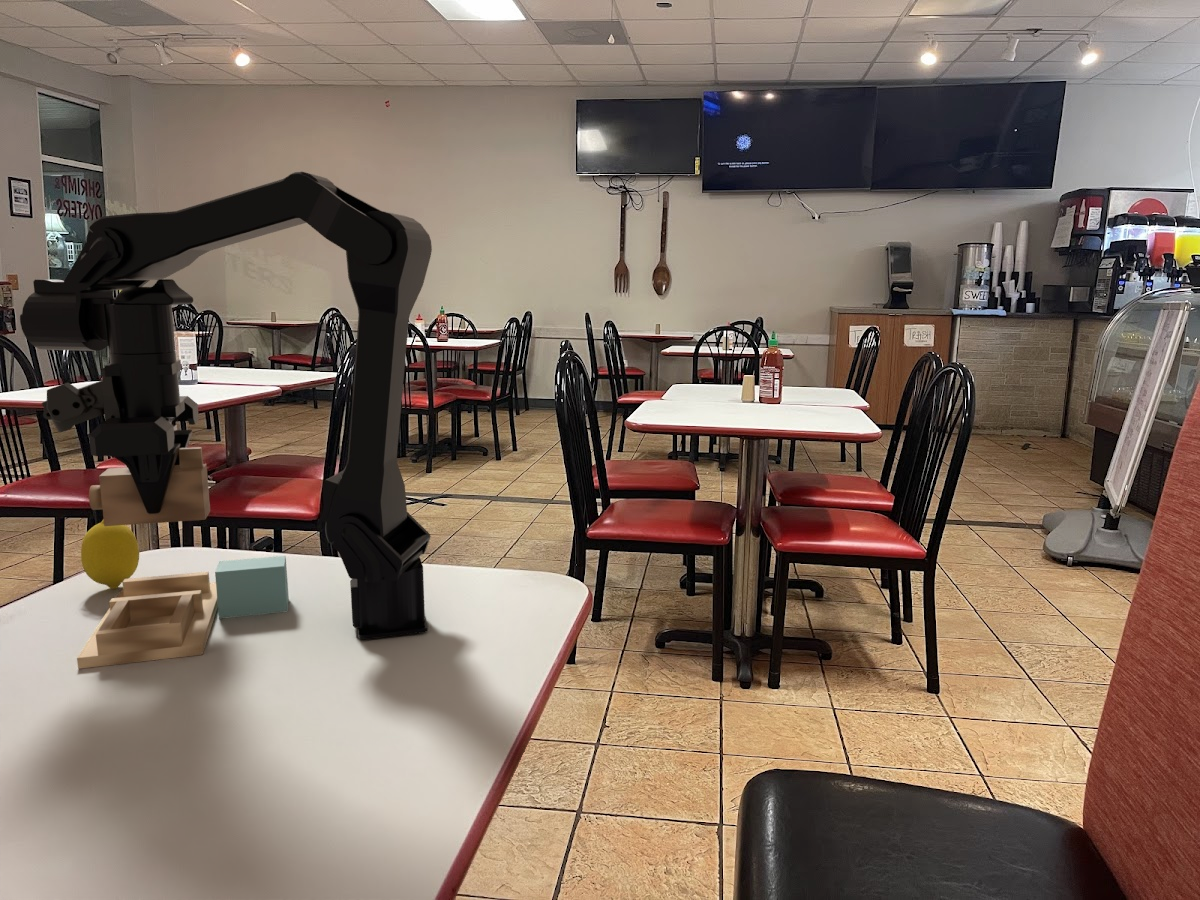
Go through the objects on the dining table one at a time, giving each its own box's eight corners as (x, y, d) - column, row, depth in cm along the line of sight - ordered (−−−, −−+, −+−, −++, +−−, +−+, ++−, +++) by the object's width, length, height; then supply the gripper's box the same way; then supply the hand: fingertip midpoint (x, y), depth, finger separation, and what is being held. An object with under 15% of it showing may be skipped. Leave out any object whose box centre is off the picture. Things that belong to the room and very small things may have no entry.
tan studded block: (210, 510, 88) (204, 444, 87) (205, 519, 85) (199, 451, 84) (100, 517, 86) (92, 449, 84) (90, 527, 82) (82, 456, 81)
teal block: (223, 606, 89) (219, 561, 88) (288, 600, 91) (285, 555, 90) (219, 619, 86) (215, 572, 85) (287, 612, 88) (284, 566, 87)
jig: (223, 590, 94) (221, 564, 93) (202, 654, 78) (199, 623, 77) (121, 599, 91) (118, 573, 90) (78, 668, 75) (74, 636, 74)
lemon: (125, 598, 91) (117, 526, 90) (74, 597, 91) (65, 525, 90) (152, 580, 97) (145, 512, 95) (104, 579, 97) (96, 511, 95)
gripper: (76, 345, 89) (92, 491, 92) (11, 362, 71) (34, 541, 74) (193, 344, 92) (205, 484, 95) (158, 360, 74) (174, 532, 77)
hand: (157, 508), depth 85 cm, fingers closed on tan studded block, 3 cm apart
